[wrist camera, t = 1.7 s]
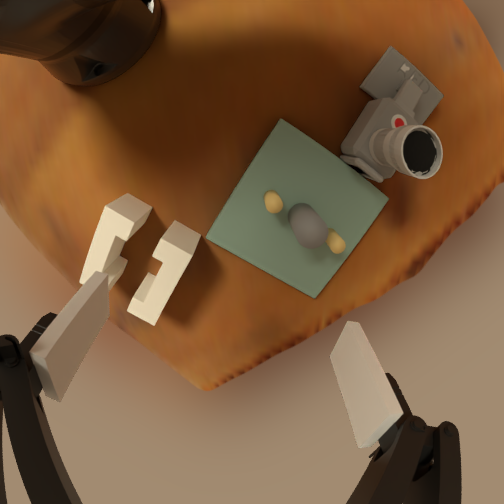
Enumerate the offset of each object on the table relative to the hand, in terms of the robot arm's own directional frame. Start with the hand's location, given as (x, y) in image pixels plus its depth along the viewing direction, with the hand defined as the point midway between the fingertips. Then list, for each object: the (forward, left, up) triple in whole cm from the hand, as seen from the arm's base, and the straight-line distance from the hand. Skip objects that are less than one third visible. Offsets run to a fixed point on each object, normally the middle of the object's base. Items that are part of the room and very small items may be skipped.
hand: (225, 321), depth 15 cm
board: (+6, +4, -19) cm, 20 cm away
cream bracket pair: (-7, -9, -19) cm, 22 cm away
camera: (+8, +19, -19) cm, 28 cm away
